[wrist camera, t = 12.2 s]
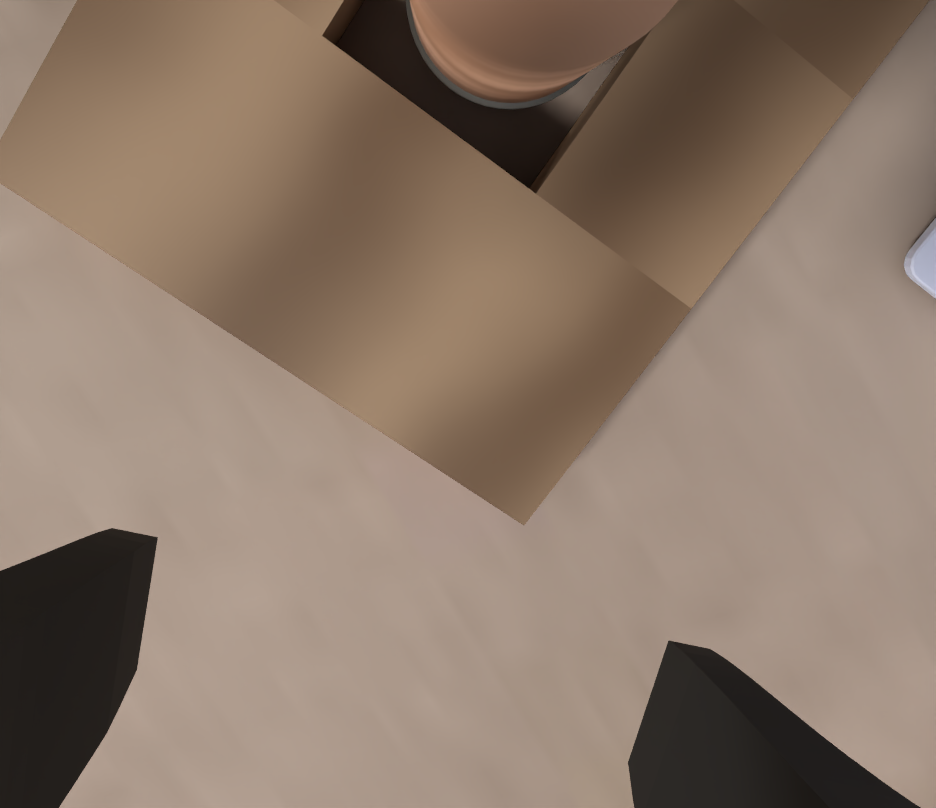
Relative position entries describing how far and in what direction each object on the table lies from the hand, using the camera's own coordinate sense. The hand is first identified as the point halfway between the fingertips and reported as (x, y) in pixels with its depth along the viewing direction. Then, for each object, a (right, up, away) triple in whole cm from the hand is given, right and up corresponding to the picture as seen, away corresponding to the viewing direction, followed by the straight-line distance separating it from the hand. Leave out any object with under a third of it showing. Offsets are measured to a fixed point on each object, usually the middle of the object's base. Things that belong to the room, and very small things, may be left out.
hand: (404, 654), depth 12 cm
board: (+2, +12, +8) cm, 14 cm away
